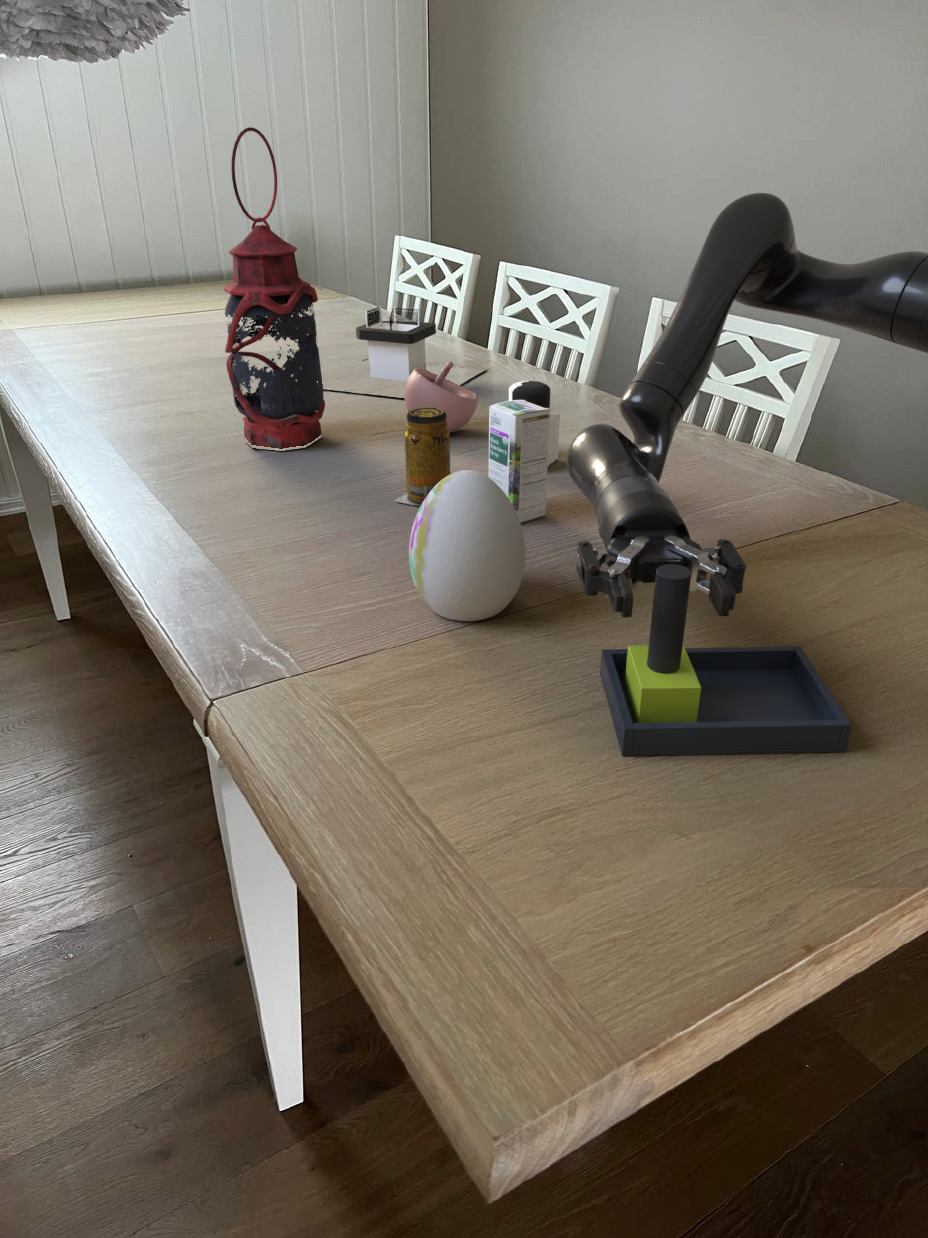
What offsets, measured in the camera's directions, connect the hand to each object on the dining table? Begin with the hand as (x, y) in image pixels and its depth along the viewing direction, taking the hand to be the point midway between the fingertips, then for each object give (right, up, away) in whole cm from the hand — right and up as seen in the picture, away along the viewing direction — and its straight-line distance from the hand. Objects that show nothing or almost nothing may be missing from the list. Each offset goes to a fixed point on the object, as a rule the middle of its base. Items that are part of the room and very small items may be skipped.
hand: (677, 606), depth 74 cm
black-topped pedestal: (-30, +47, +110) cm, 123 cm away
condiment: (-21, +15, +53) cm, 59 cm away
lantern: (-47, +28, +76) cm, 94 cm away
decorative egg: (-17, +1, +26) cm, 31 cm away
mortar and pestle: (-21, +30, +79) cm, 87 cm away
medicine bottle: (-8, +22, +65) cm, 69 cm away
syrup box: (-10, +13, +48) cm, 50 cm away
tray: (+5, -9, +8) cm, 13 cm away
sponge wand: (0, -8, +7) cm, 11 cm away
